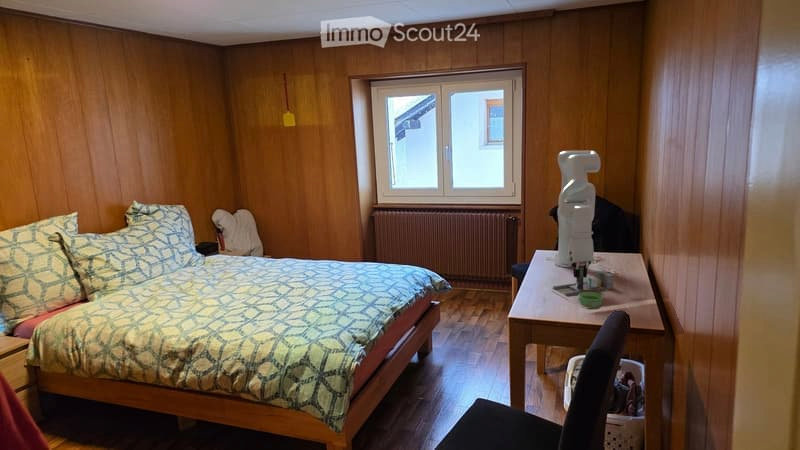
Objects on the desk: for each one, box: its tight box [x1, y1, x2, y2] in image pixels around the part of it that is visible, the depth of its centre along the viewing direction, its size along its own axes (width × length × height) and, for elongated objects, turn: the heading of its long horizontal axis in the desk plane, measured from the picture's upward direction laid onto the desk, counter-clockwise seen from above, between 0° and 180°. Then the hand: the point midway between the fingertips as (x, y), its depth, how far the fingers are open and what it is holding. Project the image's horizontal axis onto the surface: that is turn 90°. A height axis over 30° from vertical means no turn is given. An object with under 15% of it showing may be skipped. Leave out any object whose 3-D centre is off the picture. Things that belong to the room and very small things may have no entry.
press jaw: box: [569, 262, 597, 291], centre depth 211 cm, size 7×9×12 cm
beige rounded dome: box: [597, 279, 601, 288], centre depth 213 cm, size 4×4×3 cm
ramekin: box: [578, 292, 604, 311], centre depth 196 cm, size 9×9×4 cm
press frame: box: [551, 269, 618, 301], centre depth 212 cm, size 12×24×8 cm, turn 106°
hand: (580, 276), depth 211 cm, fingers closed on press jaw, 2 cm apart
